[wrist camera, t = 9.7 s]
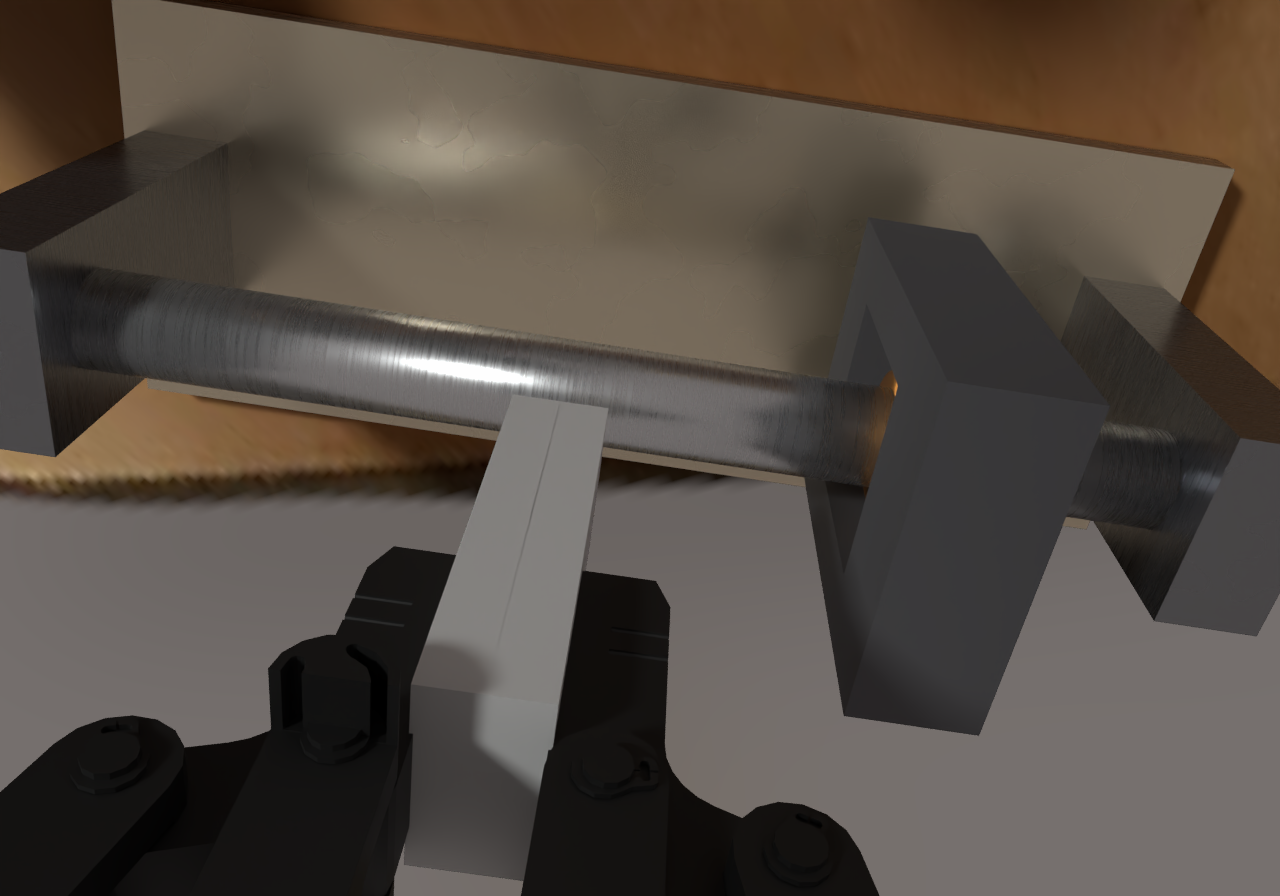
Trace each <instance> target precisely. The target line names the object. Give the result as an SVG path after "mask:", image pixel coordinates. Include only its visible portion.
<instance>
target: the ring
mask: <svg viewBox="0 0 1280 896" xmlns="http://www.w3.org/2000/svg"><path fill="white" fill-rule="evenodd" d="M891 370H892V371H893V374H894V377H895V379H896V382H897V384H898V388H897V391H896V395H895V398H894V402H893V405H892V409H891V412H890V416H889V419H888V423H887V426H886V430H885V433H884V437H883V440H882V444H881V447H880V451H879V454H878V457H877V461H876V464H875V468H874V471H873V475H872V478H871V482H870V485H869V489H868V492H867V496H866V498H865V495H864V489H863V486H858V485H852V484H845V483H838V482H832V481H825V480H818V479H812V478H805V477H804V479H805V485H806V491H807V497H808V503H809V509H810V514H811V521H812V527H813V533H814V539H815V545H816V551H817V557H818V563H819V569H820V575H821V581H822V587H823V593H824V599H825V605H826V611H827V617H828V623H829V629H830V636H831V641H832V648H833V653H834V660H835V666H836V672H837V677H838V684H839V690H840V696H841V702H842V708H843V714H844V716H848V717H855V718H862V719H869V720H876V721H883V722H890V723H896V724H904V725H911V726H917V727H923V728H930V729H937V730H944V731H951V732H958V733H964V734H971V735H979V734H980V732H981V729H982V727H983V724H984V722H985V719H986V717H987V714H988V712H989V709H990V706H991V704H992V701H993V699H994V697H995V694H996V692H997V689H998V686H999V684H1000V681H1001V679H1002V676H1003V674H1004V672H1005V669H1006V666H1007V664H1008V662H1009V659H1010V657H1011V654H1012V651H1013V649H1014V646H1015V643H1016V641H1017V639H1018V636H1019V634H1020V631H1021V629H1022V626H1023V624H1024V621H1025V619H1026V616H1027V614H1028V611H1029V608H1030V606H1031V603H1032V601H1033V599H1034V596H1035V594H1036V591H1037V589H1038V586H1039V584H1040V581H1041V579H1042V576H1043V574H1044V571H1045V569H1046V566H1047V564H1048V561H1049V558H1050V556H1051V553H1052V551H1053V549H1054V546H1055V544H1056V541H1057V538H1058V536H1059V534H1060V531H1061V528H1062V526H1063V524H1064V521H1065V519H1066V516H1067V514H1068V511H1069V509H1070V506H1071V504H1072V501H1073V499H1074V496H1075V493H1076V491H1077V488H1078V486H1079V483H1080V481H1081V478H1082V476H1083V473H1084V471H1085V468H1086V466H1087V463H1088V461H1089V458H1090V456H1091V453H1092V451H1093V448H1094V446H1095V443H1096V441H1097V438H1098V436H1099V433H1100V431H1101V428H1102V426H1103V423H1104V421H1105V418H1106V416H1107V413H1108V411H1109V408H1110V405H1109V404H1108V402H1107V401H1106V400H1105V399H1104V397H1103V396H1102V395H1101V393H1100V392H1099V391H1098V390H1097V388H1096V387H1095V386H1094V384H1093V383H1092V382H1091V380H1090V379H1089V378H1088V377H1087V375H1086V374H1085V373H1084V371H1083V370H1082V369H1081V368H1080V366H1079V365H1078V364H1077V362H1076V361H1075V360H1074V359H1073V357H1072V356H1071V355H1070V353H1069V352H1068V351H1067V349H1066V348H1065V347H1064V346H1063V344H1062V343H1061V342H1060V340H1059V339H1058V338H1057V337H1056V335H1055V334H1054V333H1053V331H1052V330H1051V329H1050V328H1049V326H1048V325H1047V324H1046V322H1045V321H1044V320H1043V318H1042V317H1041V316H1040V315H1039V313H1038V312H1037V311H1036V309H1035V308H1034V307H1033V306H1032V304H1031V303H1030V302H1029V300H1028V299H1027V298H1026V297H1025V295H1024V294H1023V293H1022V291H1021V290H1020V289H1019V287H1018V286H1017V285H1016V284H1015V282H1014V281H1013V280H1012V278H1011V277H1010V276H1009V275H1008V273H1007V272H1006V271H1005V269H1004V268H1003V267H1002V266H1001V264H1000V263H999V262H998V260H997V259H996V258H995V256H994V255H993V254H992V253H991V251H990V250H989V249H988V247H987V246H986V245H985V244H984V242H983V241H982V240H981V238H980V237H979V236H978V235H977V234H973V233H967V232H960V231H954V230H948V229H941V228H935V227H928V226H922V225H915V224H909V223H903V222H896V221H890V220H883V219H877V218H870V217H868V220H867V224H866V228H865V232H864V236H863V240H862V244H861V248H860V252H859V256H858V260H857V264H856V268H855V272H854V276H853V280H852V284H851V288H850V292H849V296H848V300H847V304H846V308H845V312H844V316H843V320H842V324H841V328H840V332H839V336H838V340H837V344H836V348H835V352H834V356H833V360H832V364H831V368H830V372H829V376H828V378H829V379H836V380H842V381H849V382H856V383H862V384H869V385H875V386H880V383H881V382H882V380H883V378H884V377H885V375H886V374H887V373H888V372H889V371H891Z"/></svg>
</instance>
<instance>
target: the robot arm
mask: <svg viewBox="0 0 1280 896" xmlns="http://www.w3.org/2000/svg"><path fill="white" fill-rule="evenodd" d="M607 415H608V408H603V407H597V406H590V405H583V404H576V403H569V402H562V401H555V400H548V399H542V398H535V397H528V396H521V395H514V394H513V396H512V398H511V401H510V404H509V407H508V410H507V413H506V415H505V418H504V421H503V424H502V427H501V430H500V432H499V435H498V438H497V441H496V444H495V447H494V450H493V452H492V455H491V458H490V461H489V464H488V467H487V469H486V472H485V475H484V478H483V481H482V484H481V486H480V489H479V492H478V495H477V498H476V501H475V503H474V506H473V509H472V512H471V515H470V518H469V521H468V524H467V526H466V529H465V532H464V535H463V538H462V540H461V543H460V546H459V549H458V552H457V555H450V554H444V553H436V552H430V551H423V550H416V549H409V548H402V547H393V548H391V549H390V550H389V551H388V552H386V553H385V554H384V555H383V556H381V557H380V558H379V559H377V560H376V561H375V562H373V563H372V564H371V565H370V566H369V567H367V570H366V572H365V574H364V576H363V578H362V580H361V582H360V584H359V587H358V589H357V591H356V593H355V598H353V599H352V601H351V604H350V606H349V608H348V610H347V612H346V614H345V620H342V623H341V625H340V627H339V629H338V631H337V633H336V635H325V636H321V637H317V638H313V639H308V640H305V641H302V642H300V643H298V644H296V645H295V646H293V647H291V648H289V649H287V650H286V651H284V652H282V653H281V654H280V655H279V657H278V658H277V659H276V660H275V661H274V663H273V664H272V665H271V666H270V667H269V668H268V675H269V694H270V714H271V730H270V731H268V732H265V733H262V734H260V735H257V736H254V737H252V738H249V739H244V740H239V741H234V742H229V743H221V744H212V745H203V746H195V747H185V748H184V745H183V743H182V742H181V740H180V738H179V736H178V735H177V733H176V731H175V730H173V729H172V728H170V727H168V726H167V725H165V724H163V723H162V722H160V721H158V720H156V719H150V718H144V717H138V716H123V717H113V718H105V719H102V720H99V721H96V722H93V723H91V724H88V725H85V726H82V727H80V728H77V729H75V730H74V731H73V732H71V733H69V734H68V735H66V736H65V737H64V738H62V739H60V740H59V741H58V742H56V743H55V744H53V745H52V746H51V747H50V748H49V749H48V750H47V751H46V752H44V753H43V755H41V756H40V757H39V758H38V759H37V760H36V761H34V762H33V763H32V764H31V765H30V766H29V767H28V768H27V769H26V770H24V771H23V772H22V773H21V774H20V775H19V776H18V777H17V778H16V779H14V780H13V781H12V782H11V783H10V784H9V785H8V786H7V787H5V788H4V789H3V790H2V791H1V792H0V896H394V876H395V873H396V869H397V866H398V863H399V859H400V856H401V853H402V849H403V846H404V843H405V852H404V865H409V866H417V867H424V868H431V869H439V870H446V871H454V872H462V873H469V874H476V875H483V876H491V877H499V878H506V879H513V880H520V881H523V888H522V893H521V896H879V894H878V891H877V889H876V887H875V885H874V882H873V880H872V877H871V875H870V873H869V870H868V868H867V866H866V863H865V861H864V859H863V857H862V854H861V852H860V850H859V849H858V847H857V846H856V844H855V842H854V841H853V840H852V838H851V836H850V835H849V834H848V832H847V830H845V829H844V828H843V827H842V826H840V825H839V824H838V823H837V822H835V821H834V820H833V819H831V818H830V817H829V816H828V815H827V814H824V813H822V812H819V811H817V810H815V809H812V808H810V807H807V806H805V805H802V804H793V803H783V802H777V803H772V804H768V805H764V806H760V807H757V808H755V809H754V810H753V811H751V812H750V813H749V814H748V815H746V816H745V817H743V818H741V817H738V816H736V815H734V814H731V813H729V812H727V811H724V810H722V809H719V808H717V807H715V806H713V805H711V804H709V803H707V802H706V801H704V800H702V799H700V798H698V797H697V796H695V795H694V794H693V793H692V792H690V791H689V790H688V789H687V788H686V787H685V786H683V784H682V783H681V782H680V781H679V779H678V778H677V777H676V776H675V774H674V773H673V772H672V769H671V767H670V765H669V763H668V760H667V758H666V751H665V723H666V697H667V674H668V649H669V640H668V639H669V625H670V606H669V604H668V602H667V600H666V599H665V597H664V595H663V593H662V591H661V589H660V588H659V586H658V584H657V583H656V581H652V580H645V579H638V578H631V577H624V576H617V575H610V574H603V573H596V572H589V571H586V565H587V559H588V553H589V546H590V539H591V531H592V524H593V517H594V510H595V502H596V495H597V488H598V481H599V473H600V466H601V459H602V452H603V444H604V437H605V430H606V423H607Z"/></svg>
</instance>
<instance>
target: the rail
mask: <svg viewBox="0 0 1280 896" xmlns="http://www.w3.org/2000/svg"><path fill="white" fill-rule="evenodd" d="M112 10H113V21H114V31H115V42H116V53H117V63H118V74H119V84H120V95H121V106H122V116H123V127H124V138H125V139H123V140H121V141H119V142H117V143H114V144H112V145H110V146H107V147H105V148H103V149H101V150H98V151H96V152H94V153H91V154H89V155H87V156H85V157H82V158H80V159H78V160H76V161H73V162H71V163H69V164H66V165H64V166H62V167H60V168H57V169H55V170H53V171H51V172H48V173H46V174H44V175H41V176H39V177H37V178H35V179H32V180H30V181H28V182H26V183H23V184H21V185H19V186H16V187H14V188H12V189H10V190H7V191H5V192H3V193H1V194H0V449H4V450H11V451H17V452H24V453H31V454H37V455H44V456H51V457H56V456H57V455H58V454H59V453H61V452H62V451H63V450H64V449H65V448H66V447H67V446H68V445H70V444H71V443H72V442H73V441H74V440H75V439H76V438H78V437H79V436H80V435H81V434H82V433H83V432H84V431H86V430H87V429H88V428H89V427H90V426H91V425H92V424H93V423H95V422H96V421H97V420H98V419H99V418H100V417H101V416H103V415H104V414H105V413H106V412H107V411H108V410H109V409H110V408H112V407H113V406H114V405H115V404H116V403H117V402H118V401H120V400H121V399H122V398H123V397H124V396H125V395H126V394H127V393H129V392H130V391H131V390H132V389H133V388H134V387H135V386H137V385H138V384H139V383H140V382H141V381H142V380H143V379H144V378H147V382H148V388H150V389H156V390H163V391H170V392H176V393H183V394H190V395H196V396H203V397H210V398H216V399H223V400H230V401H236V402H243V403H249V404H256V405H263V406H269V407H276V408H283V409H289V410H296V411H303V412H309V413H316V414H323V415H329V416H336V417H342V418H349V419H356V420H362V421H369V422H376V423H382V424H389V425H396V426H402V427H409V428H416V429H422V430H429V431H435V432H442V433H449V434H455V435H462V436H469V437H475V438H482V439H489V440H495V441H497V438H498V435H499V432H500V430H501V427H502V424H503V421H504V418H505V415H506V413H507V410H508V407H509V404H510V401H511V398H512V396H513V394H514V395H521V396H528V397H535V398H542V399H548V400H555V401H562V402H569V403H576V404H583V405H590V406H597V407H603V408H608V415H607V423H606V430H605V437H604V444H603V452H602V457H608V458H615V459H621V460H628V461H635V462H641V463H648V464H655V465H661V466H668V467H675V468H681V469H688V470H695V471H701V472H708V473H714V474H721V475H728V476H734V477H741V478H748V479H754V480H761V481H768V482H774V483H782V484H788V485H794V486H801V487H806V485H805V479H804V477H805V478H812V479H818V480H825V481H832V482H838V483H845V484H852V485H858V486H863V489H864V495H865V498H866V496H867V492H868V489H869V485H870V482H871V478H872V475H873V471H874V468H875V464H876V461H877V457H878V454H879V451H880V447H881V444H882V440H883V437H884V433H885V430H886V426H887V423H888V419H889V416H890V412H891V409H892V405H893V402H894V398H895V395H896V391H897V388H898V384H897V382H896V379H895V377H894V374H893V371H892V370H891V371H889V372H888V373H887V374H886V375H885V377H884V378H883V380H882V382H881V383H880V386H875V385H869V384H862V383H856V382H849V381H842V380H836V379H829V378H828V376H829V372H830V368H831V364H832V360H833V356H834V352H835V348H836V344H837V340H838V336H839V332H840V328H841V324H842V320H843V316H844V312H845V308H846V304H847V300H848V296H849V292H850V288H851V284H852V280H853V276H854V272H855V268H856V264H857V260H858V256H859V252H860V248H861V244H862V240H863V236H864V232H865V228H866V224H867V220H868V217H870V218H877V219H883V220H890V221H896V222H903V223H909V224H915V225H922V226H928V227H935V228H941V229H948V230H954V231H960V232H967V233H973V234H977V235H978V236H979V237H980V238H981V240H982V241H983V242H984V244H985V245H986V246H987V247H988V249H989V250H990V251H991V253H992V254H993V255H994V256H995V258H996V259H997V260H998V262H999V263H1000V264H1001V266H1002V267H1003V268H1004V269H1005V271H1006V272H1007V273H1008V275H1009V276H1010V277H1011V278H1012V280H1013V281H1014V282H1015V284H1016V285H1017V286H1018V287H1019V289H1020V290H1021V291H1022V293H1023V294H1024V295H1025V297H1026V298H1027V299H1028V300H1029V302H1030V303H1031V304H1032V306H1033V307H1034V308H1035V309H1036V311H1037V312H1038V313H1039V315H1040V316H1041V317H1042V318H1043V320H1044V321H1045V322H1046V324H1047V325H1048V326H1049V328H1050V329H1051V330H1052V331H1053V333H1054V334H1055V335H1056V337H1057V338H1058V339H1059V340H1060V342H1061V343H1062V344H1063V346H1064V347H1065V348H1066V349H1067V351H1068V352H1069V353H1070V355H1071V356H1072V357H1073V359H1074V360H1075V361H1076V362H1077V364H1078V365H1079V366H1080V368H1081V369H1082V370H1083V371H1084V373H1085V374H1086V375H1087V377H1088V378H1089V379H1090V380H1091V382H1092V383H1093V384H1094V386H1095V387H1096V388H1097V390H1098V391H1099V392H1100V393H1101V395H1102V396H1103V397H1104V399H1105V400H1106V401H1107V402H1108V404H1109V405H1110V408H1109V411H1108V413H1107V416H1106V418H1105V421H1104V423H1103V426H1102V428H1101V431H1100V433H1099V436H1098V438H1097V441H1096V443H1095V446H1094V448H1093V451H1092V453H1091V456H1090V458H1089V461H1088V463H1087V466H1086V468H1085V471H1084V473H1083V476H1082V478H1081V481H1080V483H1079V486H1078V488H1077V491H1076V493H1075V496H1074V499H1073V501H1072V504H1071V506H1070V509H1069V511H1068V514H1067V516H1066V519H1065V521H1064V524H1063V526H1067V527H1073V528H1080V529H1087V527H1088V525H1089V522H1090V521H1094V523H1095V524H1096V526H1097V528H1098V529H1099V531H1100V533H1101V534H1102V536H1103V538H1104V539H1105V541H1106V543H1107V544H1108V546H1109V548H1110V549H1111V551H1112V552H1113V554H1114V556H1115V557H1116V559H1117V561H1118V562H1119V564H1120V566H1121V567H1122V569H1123V570H1124V572H1125V574H1126V575H1127V577H1128V579H1129V580H1130V582H1131V584H1132V585H1133V587H1134V589H1135V590H1136V592H1137V594H1138V595H1139V597H1140V599H1141V600H1142V602H1143V603H1144V605H1145V607H1146V608H1147V610H1148V611H1149V613H1150V615H1151V617H1152V618H1153V620H1154V621H1158V622H1164V623H1172V624H1178V625H1185V626H1191V627H1198V628H1206V629H1212V630H1218V631H1225V632H1231V633H1238V634H1245V635H1252V636H1257V635H1258V633H1259V631H1260V629H1261V627H1262V625H1263V623H1264V622H1265V620H1266V618H1267V616H1268V614H1269V612H1270V610H1271V608H1272V607H1273V605H1274V603H1275V601H1276V599H1277V597H1278V595H1279V593H1280V390H1279V389H1278V388H1277V387H1276V386H1275V385H1273V384H1272V383H1271V382H1270V381H1269V380H1268V379H1267V378H1265V377H1264V376H1263V375H1262V374H1261V373H1260V372H1259V371H1258V370H1256V369H1255V368H1254V367H1253V366H1252V365H1251V364H1250V363H1248V362H1247V361H1246V360H1245V359H1244V358H1243V357H1242V356H1241V355H1239V354H1238V353H1237V352H1236V351H1235V350H1234V349H1233V348H1231V347H1230V346H1229V345H1228V344H1227V343H1226V342H1225V341H1224V340H1222V339H1221V338H1220V337H1219V336H1218V335H1217V334H1216V333H1214V332H1213V331H1212V330H1211V329H1210V328H1209V327H1208V326H1207V325H1205V324H1204V323H1203V322H1202V321H1201V320H1200V319H1199V318H1197V317H1196V316H1195V315H1194V314H1193V313H1192V312H1191V311H1190V310H1188V309H1187V308H1186V307H1185V306H1184V305H1183V304H1182V303H1181V299H1182V297H1183V294H1184V292H1185V289H1186V287H1187V285H1188V282H1189V280H1190V277H1191V275H1192V273H1193V270H1194V268H1195V265H1196V263H1197V260H1198V258H1199V256H1200V253H1201V251H1202V248H1203V246H1204V243H1205V241H1206V239H1207V236H1208V234H1209V231H1210V229H1211V226H1212V224H1213V222H1214V219H1215V217H1216V214H1217V212H1218V209H1219V207H1220V205H1221V202H1222V200H1223V197H1224V195H1225V193H1226V190H1227V188H1228V185H1229V183H1230V180H1231V178H1232V176H1233V173H1234V171H1235V169H1233V168H1231V167H1229V166H1228V165H1226V164H1224V163H1222V162H1220V161H1218V160H1217V159H1210V158H1204V157H1198V156H1191V155H1185V154H1179V153H1172V152H1166V151H1160V150H1153V149H1147V148H1140V147H1134V146H1128V145H1121V144H1115V143H1109V142H1102V141H1096V140H1090V139H1083V138H1077V137H1071V136H1064V135H1058V134H1052V133H1045V132H1039V131H1033V130H1026V129H1020V128H1013V127H1007V126H1001V125H994V124H988V123H982V122H975V121H969V120H963V119H956V118H950V117H944V116H937V115H931V114H925V113H918V112H912V111H906V110H899V109H893V108H886V107H880V106H874V105H867V104H861V103H855V102H848V101H842V100H836V99H829V98H823V97H817V96H810V95H804V94H798V93H791V92H785V91H779V90H772V89H766V88H759V87H753V86H747V85H740V84H734V83H728V82H721V81H715V80H709V79H702V78H696V77H690V76H683V75H677V74H671V73H664V72H658V71H652V70H645V69H639V68H632V67H626V66H620V65H613V64H607V63H601V62H594V61H588V60H582V59H575V58H569V57H563V56H556V55H550V54H544V53H537V52H531V51H525V50H518V49H512V48H505V47H499V46H493V45H486V44H480V43H474V42H467V41H461V40H455V39H448V38H442V37H436V36H429V35H423V34H417V33H410V32H404V31H398V30H391V29H385V28H378V27H372V26H366V25H359V24H353V23H347V22H340V21H334V20H328V19H321V18H315V17H309V16H302V15H296V14H290V13H283V12H277V11H270V10H264V9H258V8H251V7H245V6H239V5H232V4H226V3H220V2H213V1H207V0H112Z"/></svg>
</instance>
